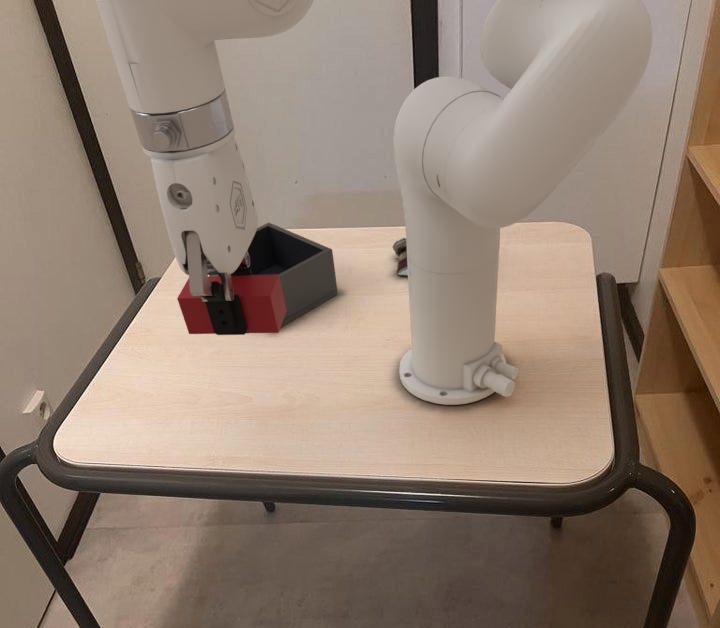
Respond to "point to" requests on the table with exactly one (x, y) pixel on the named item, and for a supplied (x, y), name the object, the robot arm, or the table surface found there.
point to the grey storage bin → (294, 268)
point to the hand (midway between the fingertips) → (237, 317)
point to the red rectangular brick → (257, 302)
